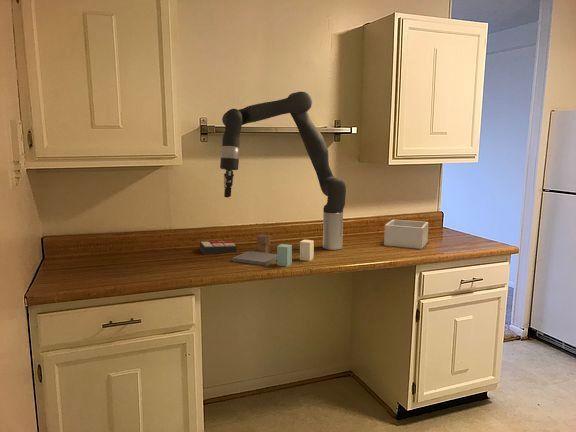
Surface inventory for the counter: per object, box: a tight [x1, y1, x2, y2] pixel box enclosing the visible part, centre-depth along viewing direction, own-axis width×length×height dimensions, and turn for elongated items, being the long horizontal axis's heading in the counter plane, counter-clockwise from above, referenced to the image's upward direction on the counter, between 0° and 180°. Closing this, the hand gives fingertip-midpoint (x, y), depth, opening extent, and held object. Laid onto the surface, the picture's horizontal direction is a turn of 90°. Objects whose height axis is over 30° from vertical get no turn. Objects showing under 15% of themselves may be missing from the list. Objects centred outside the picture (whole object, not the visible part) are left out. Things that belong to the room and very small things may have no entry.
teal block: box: [276, 243, 293, 267], centre depth 193 cm, size 4×4×8 cm
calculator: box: [199, 240, 238, 256], centre depth 217 cm, size 11×4×15 cm
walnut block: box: [256, 233, 271, 253], centre depth 213 cm, size 4×4×8 cm
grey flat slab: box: [231, 250, 277, 267], centre depth 201 cm, size 14×16×2 cm
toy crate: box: [383, 219, 429, 250], centre depth 233 cm, size 18×18×10 cm
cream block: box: [299, 239, 315, 262], centre depth 202 cm, size 4×4×8 cm
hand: (227, 197), depth 195 cm, fingers open, 8 cm apart
